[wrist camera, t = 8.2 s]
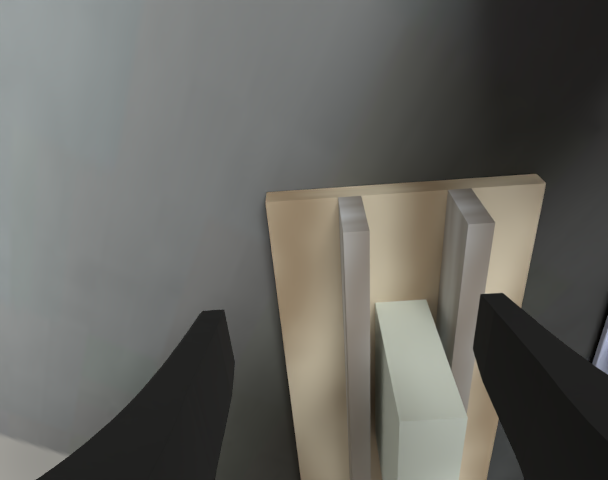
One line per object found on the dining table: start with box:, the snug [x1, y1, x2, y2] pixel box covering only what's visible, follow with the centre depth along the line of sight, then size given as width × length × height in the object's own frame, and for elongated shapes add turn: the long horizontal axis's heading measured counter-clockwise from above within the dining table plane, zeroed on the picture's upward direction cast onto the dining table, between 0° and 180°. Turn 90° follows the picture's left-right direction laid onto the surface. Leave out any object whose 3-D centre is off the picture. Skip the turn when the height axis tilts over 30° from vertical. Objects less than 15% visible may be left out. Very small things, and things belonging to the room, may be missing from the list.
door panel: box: [375, 299, 468, 480], centre depth 24 cm, size 2×10×7 cm, turn 5°
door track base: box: [265, 174, 546, 480], centre depth 26 cm, size 12×22×4 cm, turn 4°
